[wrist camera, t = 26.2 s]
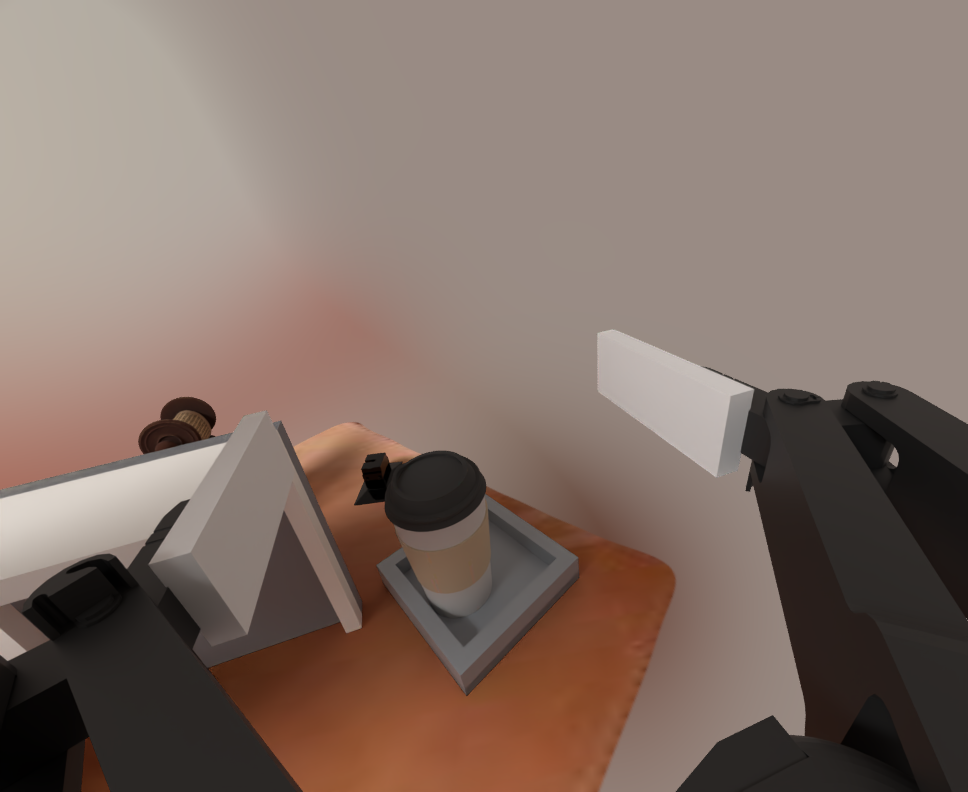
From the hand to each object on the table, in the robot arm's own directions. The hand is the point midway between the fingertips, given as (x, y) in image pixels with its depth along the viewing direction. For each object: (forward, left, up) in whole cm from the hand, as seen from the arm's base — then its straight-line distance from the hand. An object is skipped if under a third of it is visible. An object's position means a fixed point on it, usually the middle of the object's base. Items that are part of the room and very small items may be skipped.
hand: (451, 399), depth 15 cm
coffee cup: (+4, +13, -28) cm, 31 cm away
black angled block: (+7, +38, -30) cm, 48 cm away
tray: (+6, +13, -29) cm, 32 cm away
